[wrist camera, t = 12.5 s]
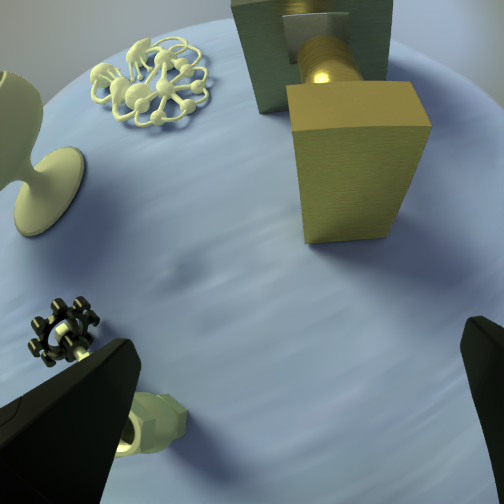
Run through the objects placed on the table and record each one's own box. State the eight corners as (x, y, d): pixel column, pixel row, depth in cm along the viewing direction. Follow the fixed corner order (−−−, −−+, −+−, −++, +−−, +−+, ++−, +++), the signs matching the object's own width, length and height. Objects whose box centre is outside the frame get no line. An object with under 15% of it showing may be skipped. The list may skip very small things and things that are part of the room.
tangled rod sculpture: (248, 92, 32) (243, 63, 28) (133, 162, 30) (117, 135, 26) (172, 43, 39) (165, 22, 35) (88, 92, 37) (77, 72, 33)
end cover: (386, 237, 22) (432, 126, 11) (305, 244, 23) (291, 131, 12) (359, 125, 26) (366, 11, 15) (293, 129, 27) (274, 15, 16)
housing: (382, 105, 26) (393, -2, 15) (259, 113, 28) (230, 6, 17) (358, 51, 30) (357, -37, 19) (257, 58, 32) (234, -28, 21)
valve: (213, 403, 20) (106, 305, 24) (174, 414, 14) (53, 283, 18) (164, 464, 19) (68, 363, 23) (115, 488, 13) (13, 353, 17)
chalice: (102, 128, 33) (34, 40, 19) (80, 232, 28) (-31, 146, 14) (27, 162, 35) (-39, 100, 21) (3, 254, 30) (-88, 199, 16)
